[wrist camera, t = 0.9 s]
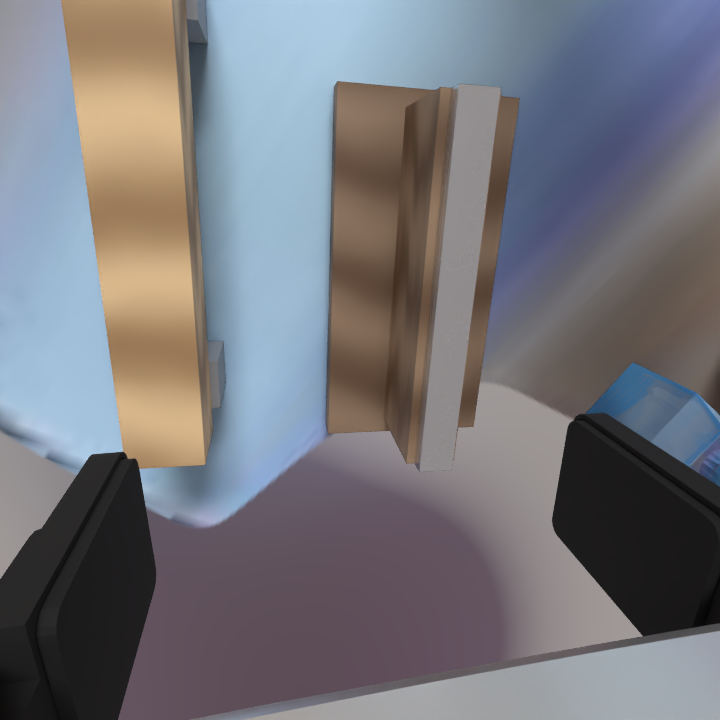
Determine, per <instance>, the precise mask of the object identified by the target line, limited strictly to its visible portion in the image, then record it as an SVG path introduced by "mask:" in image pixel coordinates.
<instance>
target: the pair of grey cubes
mask: <svg viewBox="0 0 720 720" xmlns="http://www.w3.org/2000/svg"><path fill="white" fill-rule="evenodd" d="M185 1H186V16H187V32H188V42H193V43H203V44H208V39H207V20H206V1H205V0H185ZM207 342H208V358H209V373H210V389H211V404H212V408H220V406H221V402H222V397H223V392H224V388H225V383H226V381H225V362H224V343H223V341H207Z"/></svg>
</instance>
